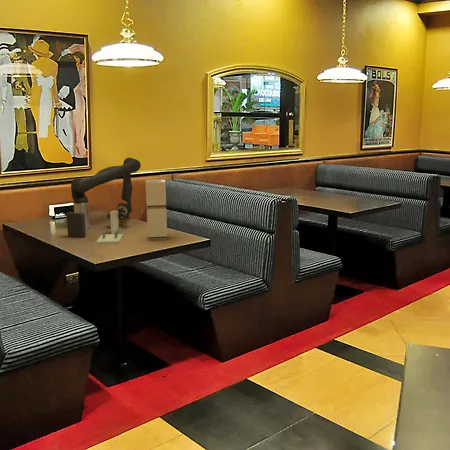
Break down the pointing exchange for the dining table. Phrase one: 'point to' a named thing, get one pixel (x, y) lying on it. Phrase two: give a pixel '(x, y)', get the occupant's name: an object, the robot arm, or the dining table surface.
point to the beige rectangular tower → (156, 209)
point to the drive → (114, 221)
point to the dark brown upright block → (76, 224)
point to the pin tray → (110, 237)
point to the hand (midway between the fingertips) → (117, 217)
